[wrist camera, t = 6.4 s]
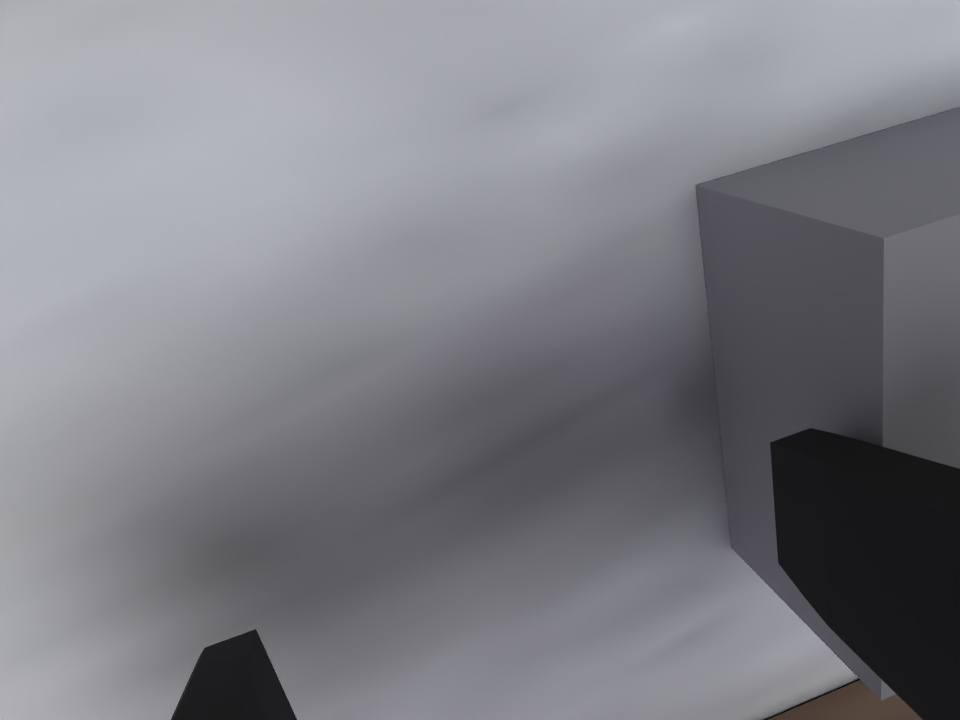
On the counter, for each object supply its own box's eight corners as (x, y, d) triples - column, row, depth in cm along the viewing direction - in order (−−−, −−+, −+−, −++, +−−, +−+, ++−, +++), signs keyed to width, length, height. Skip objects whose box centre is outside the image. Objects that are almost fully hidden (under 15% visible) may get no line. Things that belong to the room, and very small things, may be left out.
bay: (1090, 617, 18) (1234, 712, 16) (274, 974, 15) (279, 1172, 12) (1247, -391, 11) (1585, -543, 8) (-354, -98, 7) (-701, -190, 5)
